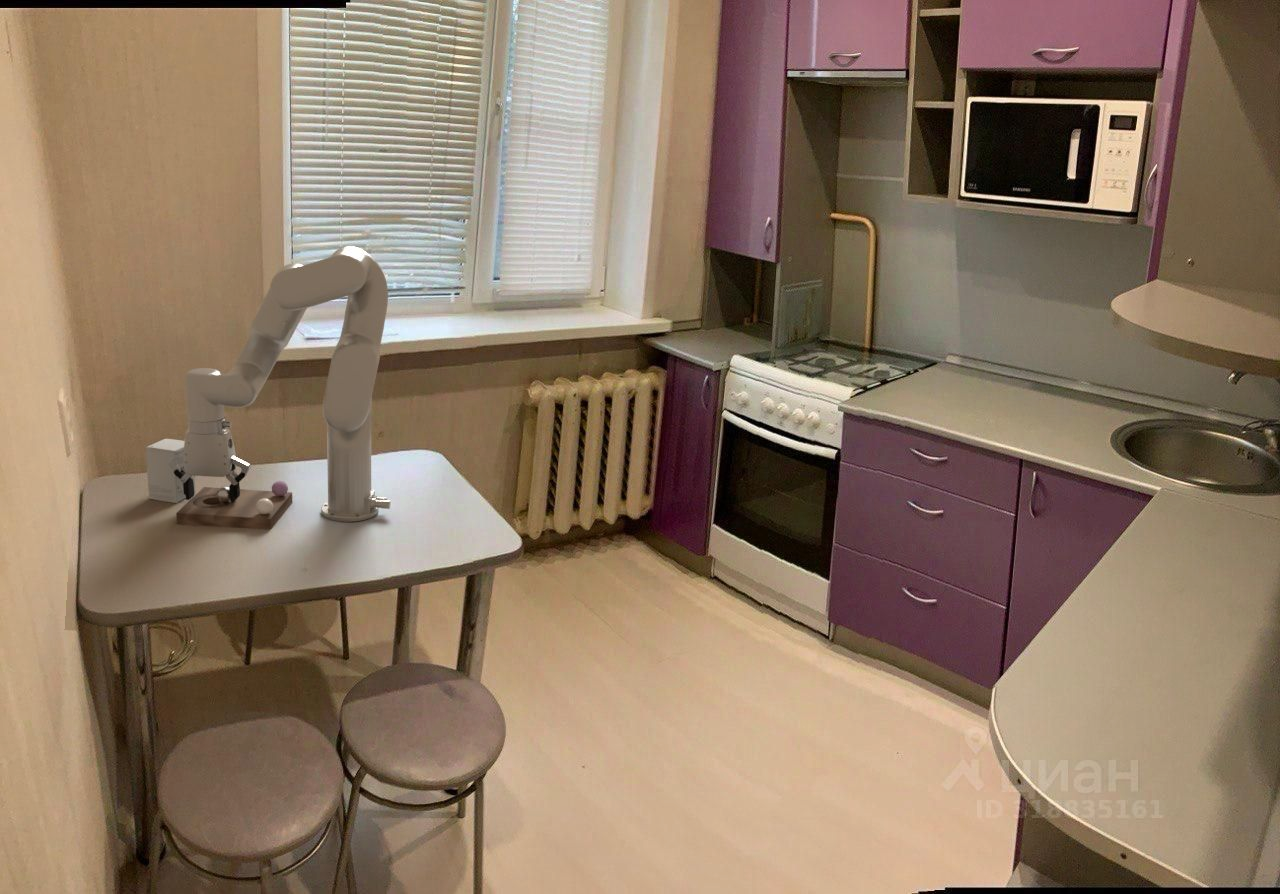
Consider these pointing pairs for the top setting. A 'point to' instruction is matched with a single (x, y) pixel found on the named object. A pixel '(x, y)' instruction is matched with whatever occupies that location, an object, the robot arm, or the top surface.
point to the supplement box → (165, 471)
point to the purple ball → (279, 488)
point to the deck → (233, 509)
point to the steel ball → (223, 494)
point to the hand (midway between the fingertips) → (212, 498)
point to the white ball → (264, 506)
